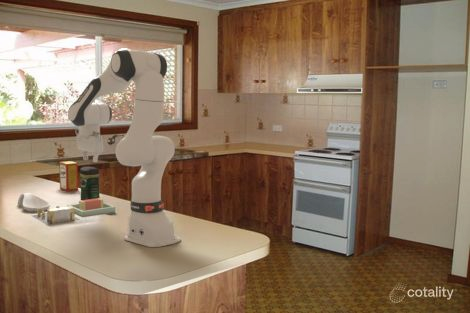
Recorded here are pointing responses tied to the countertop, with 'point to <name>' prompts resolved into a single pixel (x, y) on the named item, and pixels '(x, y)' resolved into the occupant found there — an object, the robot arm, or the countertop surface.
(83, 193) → the coffee jar
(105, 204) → the tray
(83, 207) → the fuse
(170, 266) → the countertop surface
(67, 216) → the fuse holder
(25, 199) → the spoon rest
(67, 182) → the baking soda box
